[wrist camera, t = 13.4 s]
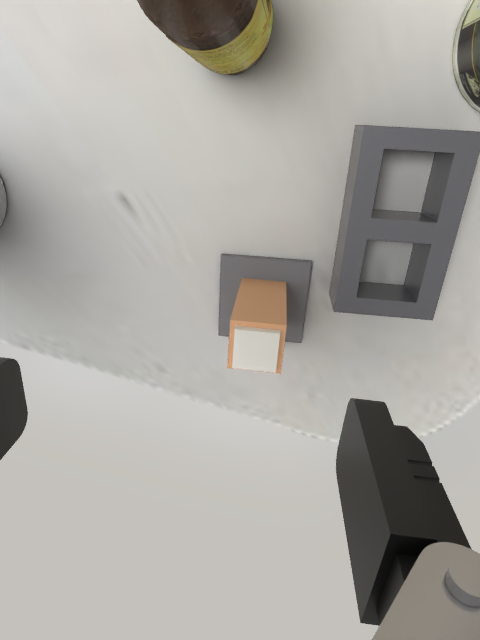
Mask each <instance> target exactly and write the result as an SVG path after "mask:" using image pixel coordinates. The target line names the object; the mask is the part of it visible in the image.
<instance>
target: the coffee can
mask: <svg viewBox="0 0 480 640" xmlns="http://www.w3.org/2000/svg"><path fill="white" fill-rule="evenodd" d="M453 68H454V74H455V79H456V82H457V84H458V87H459V89H460V91H461V93H462V95H463V96H464V98H465V99H466V100H467V102H468V103H469V104H470V105H471V106H472V107H473V108H475V109H476V110H477V111H479V112H480V0H470V1H469V3H468V4H467V6H466V8H465V10H464V12H463V15H462V17H461V20H460V22H459V25H458V27H457V30H456V35H455V41H454V46H453Z"/></svg>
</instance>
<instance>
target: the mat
mask: <svg viewBox="0 0 480 640" xmlns="http://www.w3.org/2000/svg"><path fill="white" fill-rule="evenodd" d="M311 264H312V262H311V261H309V260H296V259H283V258H270V257H258V256H245V255H232V254H222V255H221V272H220V302H219V333H218V335H219V336H229V332H230V319H231V315H232V312H233V308H234V305H235V301H236V297H237V294H238V290H239V287H240V283H241V280H242V278H250V279H260V280H271V281H282V282H286V305H287V327H286V335H285V342H295V343H301V341H302V333H303V326H304V318H305V310H306V303H307V295H308V287H309V280H310V272H311Z"/></svg>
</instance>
